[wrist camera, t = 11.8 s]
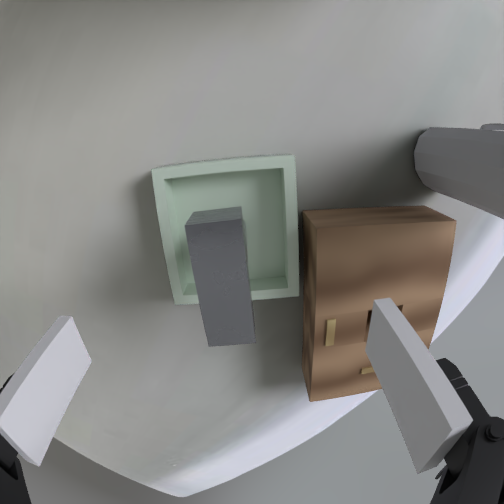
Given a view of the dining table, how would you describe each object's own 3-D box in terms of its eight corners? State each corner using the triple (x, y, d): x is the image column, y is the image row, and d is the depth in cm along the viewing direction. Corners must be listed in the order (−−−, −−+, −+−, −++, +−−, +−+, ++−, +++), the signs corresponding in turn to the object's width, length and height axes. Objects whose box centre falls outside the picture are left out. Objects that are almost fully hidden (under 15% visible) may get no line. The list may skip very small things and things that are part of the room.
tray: (161, 166, 26) (151, 169, 23) (289, 153, 26) (294, 155, 23) (180, 289, 31) (174, 304, 28) (294, 281, 31) (299, 296, 28)
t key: (220, 268, 29) (209, 346, 18) (208, 188, 26) (184, 225, 15) (250, 265, 29) (255, 342, 18) (241, 184, 26) (241, 218, 15)
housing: (302, 210, 28) (317, 229, 22) (424, 205, 28) (457, 221, 22) (301, 367, 35) (309, 403, 29) (399, 350, 35) (418, 380, 29)
